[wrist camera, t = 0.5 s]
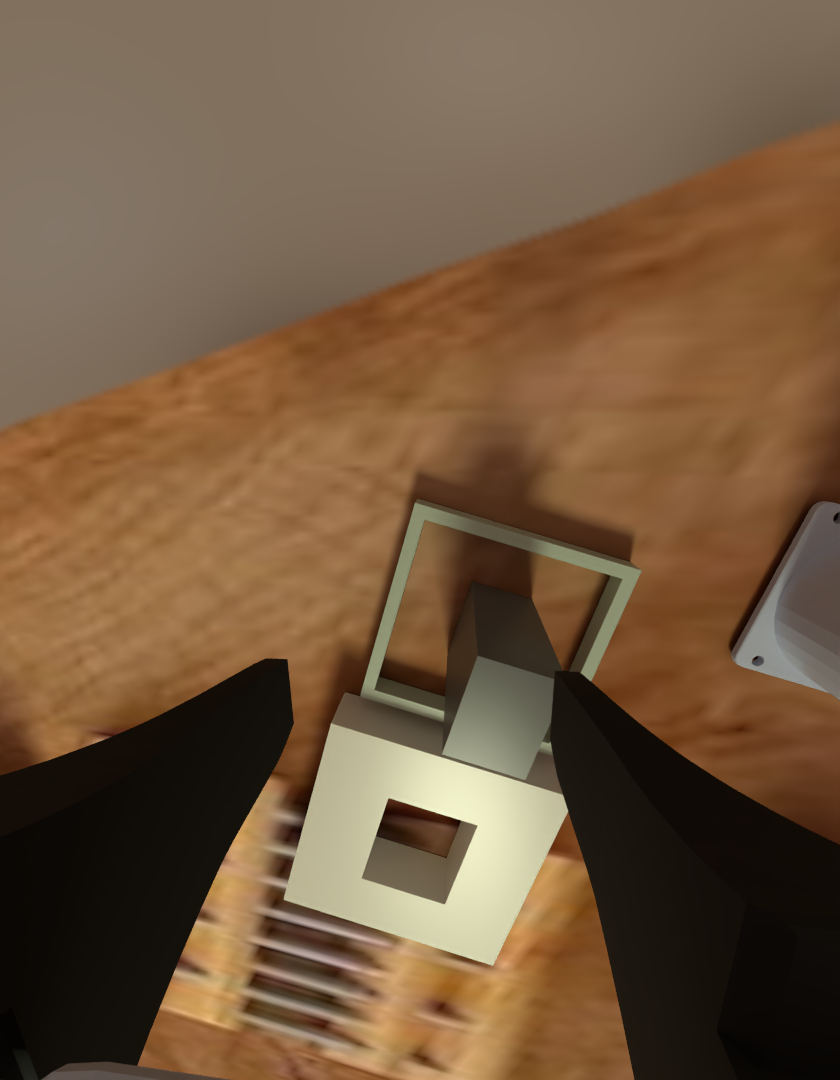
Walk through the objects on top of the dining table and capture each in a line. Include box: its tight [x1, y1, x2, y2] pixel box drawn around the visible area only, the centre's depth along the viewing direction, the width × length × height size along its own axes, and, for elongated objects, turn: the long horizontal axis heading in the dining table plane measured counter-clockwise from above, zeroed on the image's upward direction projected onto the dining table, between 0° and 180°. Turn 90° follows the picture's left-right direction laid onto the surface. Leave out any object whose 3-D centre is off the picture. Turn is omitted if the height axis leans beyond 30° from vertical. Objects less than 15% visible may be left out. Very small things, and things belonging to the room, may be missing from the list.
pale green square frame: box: [360, 499, 642, 756], centre depth 20 cm, size 10×10×1 cm
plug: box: [442, 581, 562, 780], centre depth 17 cm, size 3×4×7 cm
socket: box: [284, 692, 568, 966], centre depth 23 cm, size 12×12×2 cm
